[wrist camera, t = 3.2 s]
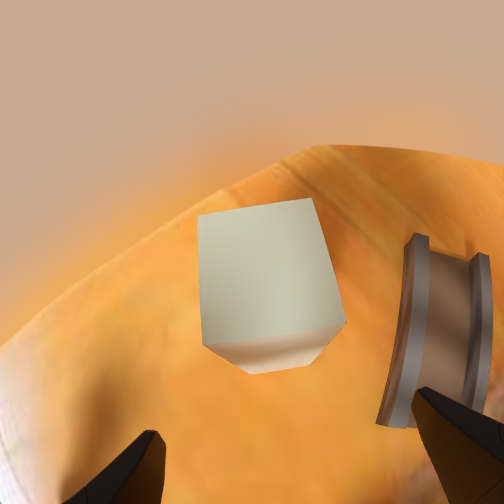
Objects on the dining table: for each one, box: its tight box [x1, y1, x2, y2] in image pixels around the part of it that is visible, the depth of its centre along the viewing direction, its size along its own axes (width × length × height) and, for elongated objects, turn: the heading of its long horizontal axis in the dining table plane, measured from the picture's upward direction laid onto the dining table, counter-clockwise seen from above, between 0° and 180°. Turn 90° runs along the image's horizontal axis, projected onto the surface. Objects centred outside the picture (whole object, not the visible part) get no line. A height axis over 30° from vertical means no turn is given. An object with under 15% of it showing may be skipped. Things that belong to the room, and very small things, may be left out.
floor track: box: [376, 233, 493, 428], centre depth 17 cm, size 16×9×3 cm, turn 162°
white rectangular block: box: [198, 198, 347, 374], centre depth 15 cm, size 5×4×13 cm
